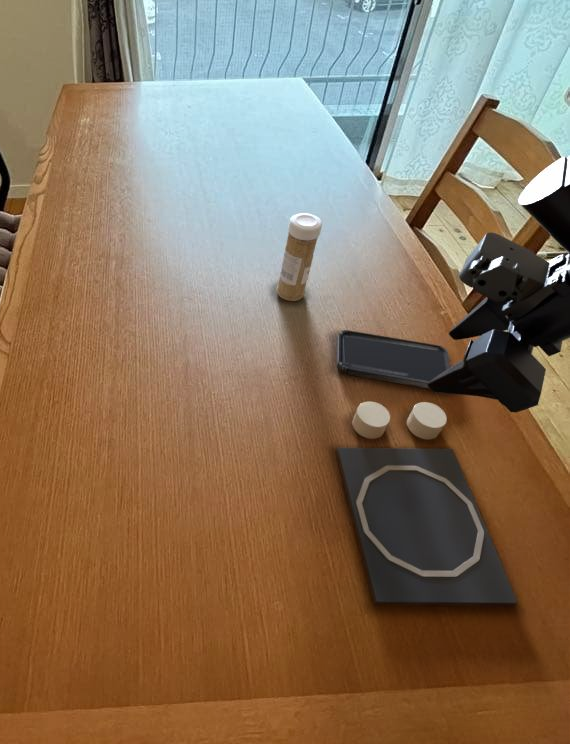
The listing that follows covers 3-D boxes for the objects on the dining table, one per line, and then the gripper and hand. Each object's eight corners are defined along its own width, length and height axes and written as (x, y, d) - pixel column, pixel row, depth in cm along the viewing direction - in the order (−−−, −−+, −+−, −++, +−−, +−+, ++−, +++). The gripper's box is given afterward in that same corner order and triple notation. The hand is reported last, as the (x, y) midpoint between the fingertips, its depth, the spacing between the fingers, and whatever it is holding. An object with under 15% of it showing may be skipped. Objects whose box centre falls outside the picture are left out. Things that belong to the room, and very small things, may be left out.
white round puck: (433, 414, 72) (440, 402, 70) (443, 439, 69) (451, 428, 67) (402, 413, 72) (408, 401, 70) (412, 439, 69) (418, 427, 67)
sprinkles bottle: (309, 298, 88) (328, 226, 78) (284, 304, 86) (300, 232, 77) (295, 281, 91) (312, 209, 81) (270, 287, 89) (284, 214, 80)
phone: (339, 328, 81) (446, 346, 79) (337, 334, 82) (443, 352, 80) (338, 367, 76) (453, 387, 73) (336, 373, 76) (450, 393, 74)
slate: (449, 453, 68) (453, 448, 67) (513, 606, 55) (519, 602, 54) (335, 452, 68) (337, 447, 67) (373, 605, 55) (377, 601, 54)
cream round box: (379, 413, 72) (385, 401, 70) (388, 439, 69) (394, 427, 67) (348, 413, 72) (353, 401, 70) (356, 438, 69) (361, 426, 67)
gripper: (549, 171, 51) (412, 262, 63) (519, 269, 39) (358, 357, 52) (631, 258, 51) (479, 332, 64) (624, 380, 40) (440, 441, 52)
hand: (441, 360), depth 58 cm, fingers open, 9 cm apart
